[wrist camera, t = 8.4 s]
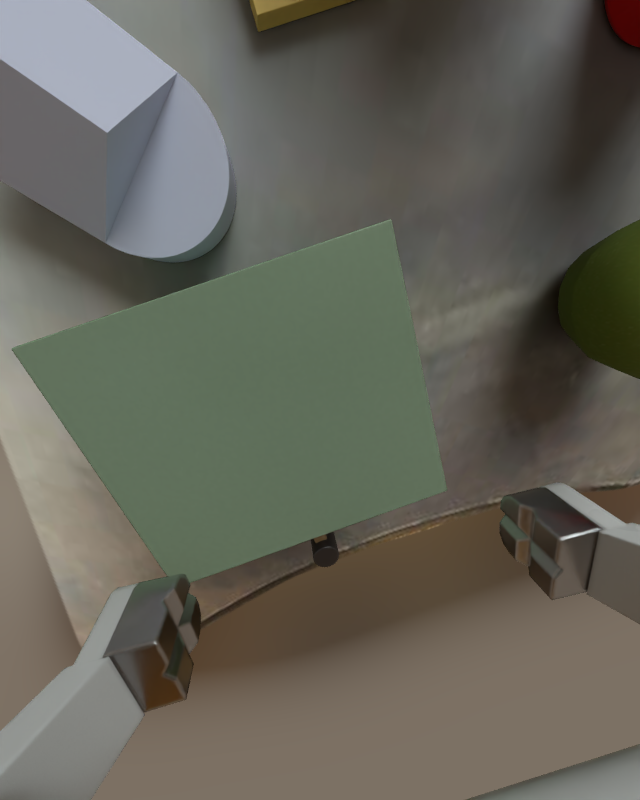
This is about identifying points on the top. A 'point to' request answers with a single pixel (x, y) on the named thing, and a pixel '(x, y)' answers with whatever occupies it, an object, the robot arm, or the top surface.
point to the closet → (252, 404)
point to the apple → (606, 301)
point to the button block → (287, 10)
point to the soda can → (625, 19)
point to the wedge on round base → (109, 133)
